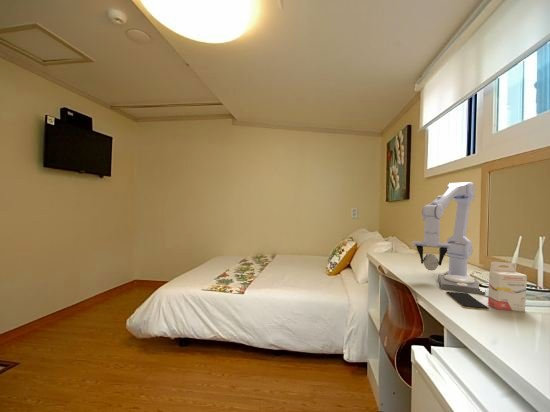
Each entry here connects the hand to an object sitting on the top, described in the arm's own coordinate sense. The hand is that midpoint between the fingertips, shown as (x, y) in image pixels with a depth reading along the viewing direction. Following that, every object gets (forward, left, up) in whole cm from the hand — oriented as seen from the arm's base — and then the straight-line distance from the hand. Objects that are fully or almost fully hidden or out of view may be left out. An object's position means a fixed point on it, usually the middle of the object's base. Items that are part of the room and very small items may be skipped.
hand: (430, 264), depth 120 cm
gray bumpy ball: (0, 0, -3) cm, 3 cm away
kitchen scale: (0, +11, -8) cm, 13 cm away
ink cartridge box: (+21, +21, -8) cm, 31 cm away
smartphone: (+20, +9, -8) cm, 24 cm away
